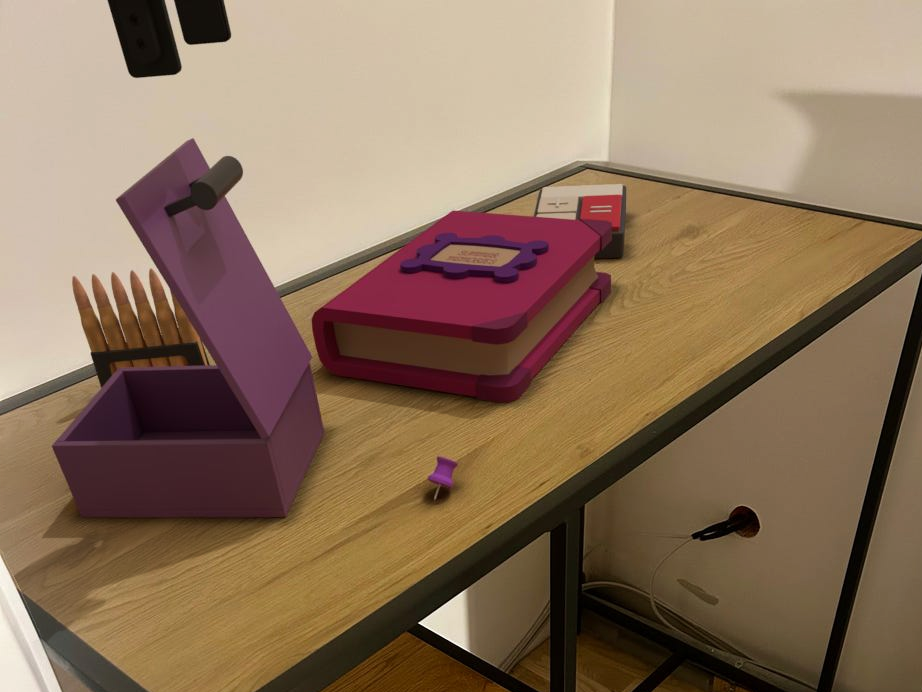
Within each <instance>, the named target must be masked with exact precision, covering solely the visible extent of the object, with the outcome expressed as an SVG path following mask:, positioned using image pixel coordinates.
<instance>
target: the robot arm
mask: <svg viewBox="0 0 922 692" xmlns="http://www.w3.org/2000/svg"><path fill="white" fill-rule="evenodd" d="M173 2H174V6H175V11H176V15H177V18H178V22H179V25H180V29H181V33H182V38H183V41H184V43H186V44H187V45H189V46H196V45H206V44H208V45H209V44H216V43H226V42H228V41H230V40H231V39H232V32H231V26H230V22H229V18H228V14H227V9H226V5H225V4H226V3H225V0H173ZM107 5H108V7H109V11H110V14H111V17H112V21H113V24H114V28H115V31H116V34H117V38H118V42H119V45H120V48H121V52H122V56H123V58H124V62H125V65H126V70H127V72H128V74H129V76H131V77H132V78H134V79H141V78H142V79H143V78H152V77H153V78H154V77H165V76H166V77H167V76H175V75H177V74H179V73H180V72H181V71H182V68H183V67H182V61H181V58H180V53H179V50H178V46H177V41H176V39H175V35H174V34H175V33H174V31H173V26H172V23H171V18H170V16H169V11H168V7H167V4H166V0H107Z"/></svg>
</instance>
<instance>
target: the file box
mask: <svg viewBox="0 0 922 692" xmlns="http://www.w3.org/2000/svg"><path fill="white" fill-rule="evenodd" d="M313 375H314V374H313V370H312V366H311V362H309V364H308V366H307V368H306V370H305V372H304V373H303V375H302V377H301V379H300V381H299V383H298V385H297V386H296V388H295V390H294V392H293V394H292V396H291V398H290V399H289V401H288V403H287V405H286V407H285V409H284V411H283V412H282V414H281V416H280V418H279V420H278V422H277V424H276V425H275V427H274V429H273V431H272V433H271V435H270V436H269V437H267V438H264V439H262V438H261V437H260V435H259V433H258V432H257V430H256V428H255V427H254V425H253V424H252V422H251V420H250V419H249V417H248V415H247V414H246V412H245V411H244V409H243V407H242V406H241V404H240V402H239V401H238V399H237V397H236V396H235V394H234V393H233V391H232V389H231V388H230V386H229V384H228V383H227V381H226V380H225V378H224V376H223V375H222V373H221V371H220V370H219V368H218V366H217V365H216V364H215V365H214V364H213V365H212V364H210V365H207V366H165V367H135V366H134V367H124V368H118V369H117V370H116V372H115V373H114V374H113V375H112V376H111V378H110V379H109V380H108V381H107V382H106V383H105V384H104V386H103V387H102V388H101V387H100V389H99V390H98V391H97V393H96V394H94V396H93V397H92V398H91V399H90V401H89V402H88V403H87V404H86V405H85V406H84V408H83V409H82V410H81V411H80V412H79V414H77V416H76V417H75V418H74V419H73V420H72V421H71V423H70V424H68V426H67V427H66V429H65V430H64V431H63V432H62V433H61V434H60V436H59V437H57V439H56V440H55V441H54V442H53V443H52V445H51V448H52V451H53V453H54V455H55V457H56V460H57V462H58V464H59V467H60V469H61V472H62V474H63V477H64V479H65V481H66V484H67V486H68V488H69V490H70V493H71V495H72V497H73V500H74V502H75V505H76V507H77V510H78V511H79V514H80V517H81V519H82V518H286V517H287V515H288V513H289V511H290V509H291V507H292V505H293V503H294V500H295V498H296V496H297V494H298V492H299V490H300V487H301V485H302V483H303V481H304V478H305V476H306V474H307V472H308V470H309V467H310V466H311V463H312V461H313V459H314V456H315V454H316V452H317V450H318V448H319V446H320V443H321V441H322V439H323V437H324V435H325V433H326V432H325V428H324V424H323V418H322V414H321V413H322V412H321V408H320V404H319V399H318V394H317V390H316V385H315V380H314V376H313Z"/></svg>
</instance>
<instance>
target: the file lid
mask: <svg viewBox="0 0 922 692" xmlns="http://www.w3.org/2000/svg"><path fill="white" fill-rule="evenodd" d="M243 175H244V168H243V166H242V163H241V162H240V161H239V160H238V159H237V158H235V156H231V155H225V156H222V157H221V158H220V159H219V160H217V161H216V163H215V164H213V165H212V166H211V167H210V165H209V164H208V162H207V160H206V158H205V157H204V154H203V153H202V151H201V149H200V147H199V145H198V143H197V142H196V140H195V138H194V137H192V138H190V139H188V140H186V141H185V142H184V143H182V144H181V145H180V146H179V147H177V148H176V149H175V150H174V151H172V152H171V153H170V154H169V155H167V156H166V157H165V158H164V159H163V160H162V161H161V162H159V163H158V164H157V165H155V166H154V167H153V168H152V169H151V170H149V171H148V172H147V173H146V174H145V175H143V176H142V177H141V178H139V179H138V180H137V181H136V182H135V183H134V184H132V185H131V186H130V187H129V188H127V189H126V190H124V192H123V193H121V194H120V195H119V196H117V198H115V202H116V204H117V205H118V206H119V208H120V210H121V211H122V214H123V215H124V217H125V218H126V220H127V221H128V223H129V225H130V226H131V228H132V229H133V231H134V233H135V235H136V236H137V238H138V240H139V241H140V243H141V244H142V246H143V247H144V249H145V251H146V253H147V254H148V256H149V257H150V259H151V260H152V262H153V264H154V265H155V267H156V268H157V270H158V272H159V274H160V275H161V277H162V278H163V280H164V282H165V284H166V285H167V287H168V288H169V291H170V290H171V291H172V293H173V295H174V296H175V298H176V300H177V301H178V303H179V304H180V306H181V308H182V309H183V311H184V313H185V314H186V316H187V318H188V319H189V321H190V322H191V324H192V326H193V327H194V329H195V331H196V332H197V334H198V335H199V337H200V339H201V340H202V343H203V346H204V348H205V350H207V352H208V354H209V355H210V357H211V358H212V360H213V362H214V364H215V365H217V366H218V368H219V370H220V371H221V373H222V375H223V376H224V378H225V380H226V381H227V383H228V384H229V386H230V388H231V389H232V391H233V393H234V394H235V396H236V397H237V399H238V401H239V402H240V404H241V406H242V407H243V409H244V411H245V412H246V414H247V415H248V417H249V419H250V420H251V422H252V424H253V425H254V427H255V428H256V430H257V432H258V433H259V435H260V437H261V438H262V439H264V438H267V437H269V436H270V435H271V433H272V431H273V429H274V427H275V425H276V424H277V422H278V420H279V418H280V416H281V414H282V412H283V411H284V409H285V407H286V405H287V403H288V401H289V399H290V398H291V396H292V394H293V392H294V390H295V388H296V386H297V385H298V383H299V381H300V379H301V377H302V375H303V373H304V372H305V370H306V368H307V366H308V364H309V363H311V360H312V359H313V356H312V353H311V351H310V349H309V348H308V346H307V344H306V342H305V340H304V339H303V337H302V335H301V333H300V332H299V331H300V330H298V328H297V326H296V324H295V322H294V321H293V318H292V317H291V315H290V313H289V311H288V309H287V308H286V306H285V304H284V302H283V300H282V298H281V296H280V295H279V293H278V291H277V289H276V288H275V286H274V283H273V281H272V279H271V278H270V276H269V275H268V273H267V271H266V269H265V267H264V265H263V263H262V262H261V259H260V258H259V256H258V254H257V252H256V250H255V248H254V246H253V245H252V242H250V239H249V237H248V236H247V234H246V232H245V230H244V228H243V227H242V224H241V223H240V221H239V219H238V217H237V216H236V213H235V211H234V210H233V208H232V206H231V204H230V203H229V201H228V199H227V197H226V195H228V194H229V192H230V191H231V190H232V189H233V188H234V187H235V186H236V185H237V184H238V183H239V182H240V181H241V180H242V179H243Z"/></svg>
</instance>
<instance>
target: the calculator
mask: <svg viewBox="0 0 922 692" xmlns="http://www.w3.org/2000/svg"><path fill="white" fill-rule="evenodd" d="M533 217H546V218H559V219H573V220H579V219H592V220H606V221H609V222H612V240H611V241H610V242H609V243H608V244H607V245H606V246H605V248H604V249H603V250H602V251H598V252H597V253H596V254H595V255H594V260H595V259H597V260H598V259H621V258H624V254H625V234H626V222H627V221H626V218H627V186H626V185H624V184H622V183H611V184H610V183H607V184H606V183H605V184H585V185H582V184H581V185H564V186H563V185H562V186H544V187H542V188H541V189H539V191H538V196H537V199H536V204H535V209H534V212H533Z"/></svg>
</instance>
